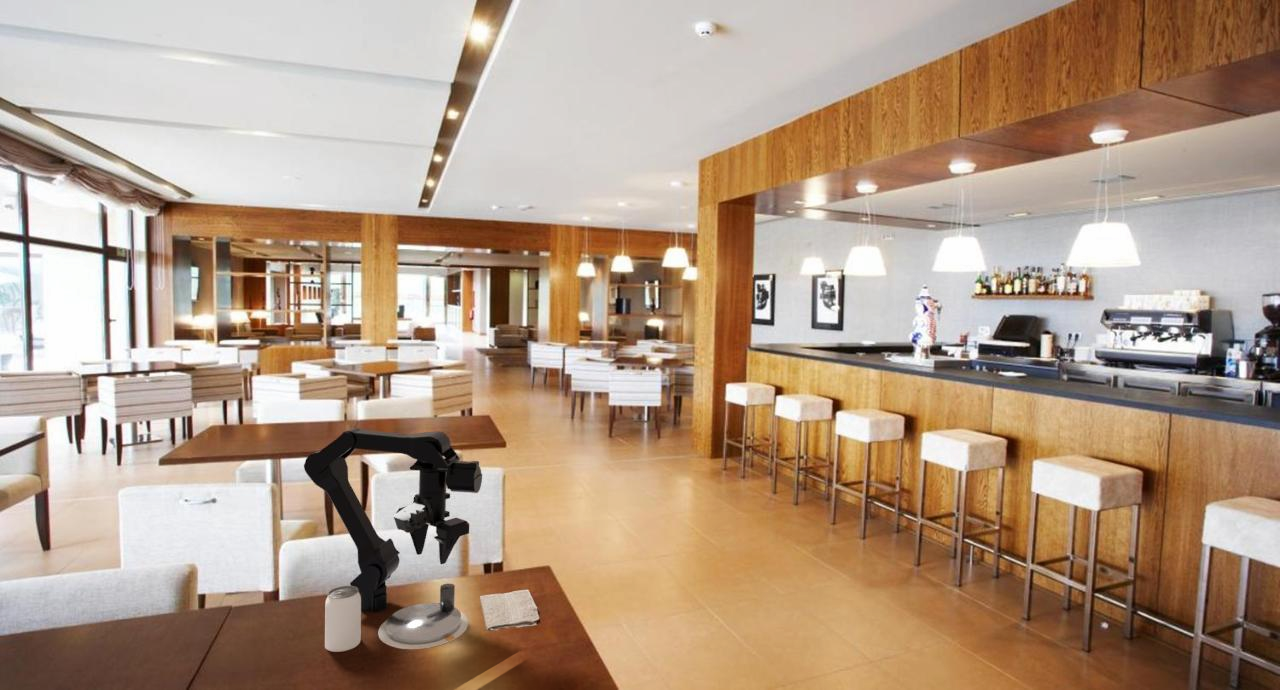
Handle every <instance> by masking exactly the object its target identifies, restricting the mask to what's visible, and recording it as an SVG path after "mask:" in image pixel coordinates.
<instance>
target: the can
mask: <svg viewBox="0 0 1280 690" xmlns="http://www.w3.org/2000/svg"><path fill="white" fill-rule="evenodd" d="M324 603H325V606H324V607H325V608H324V612H325V613H324V649H326V650H327V651H329V652H334V653H339V652H346V651H349V650H352V649H354V648H356V647H358V646H359V644H360V643H361V638H362V637H361V634H362V633H361V631H362V630H361V629H362V625H361V624H362V620H361V619H362V615H361V614H362V611H361V596H360V594H359V589H358V588H357V587H355V586H351V585H341V586H337V587H335V588H332V589H331V590H329V591H328V593H327V597H326V599H325V602H324Z"/></svg>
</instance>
